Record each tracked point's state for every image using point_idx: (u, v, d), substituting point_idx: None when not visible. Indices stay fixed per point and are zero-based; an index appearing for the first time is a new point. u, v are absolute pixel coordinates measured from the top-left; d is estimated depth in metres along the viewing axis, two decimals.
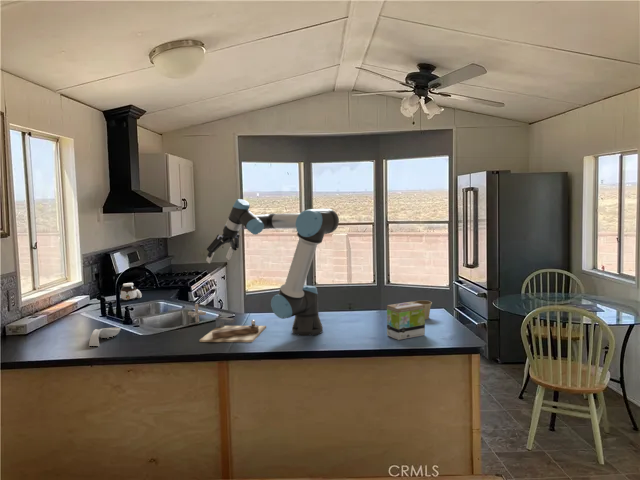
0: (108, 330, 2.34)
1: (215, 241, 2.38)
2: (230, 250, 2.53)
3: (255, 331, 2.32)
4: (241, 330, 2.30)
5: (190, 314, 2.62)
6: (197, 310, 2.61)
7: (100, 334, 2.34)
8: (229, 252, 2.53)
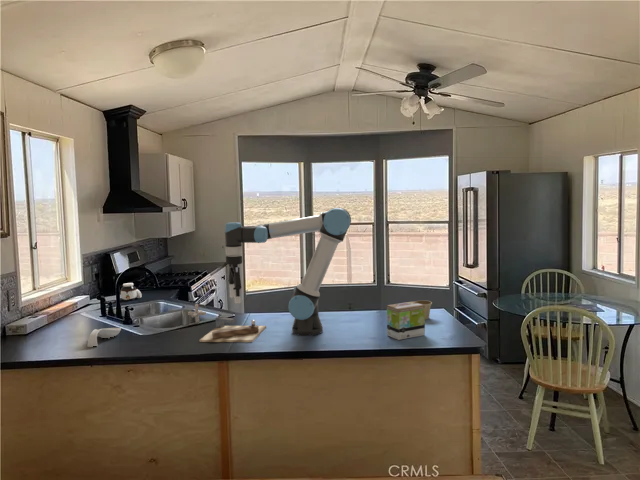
0: (107, 330, 2.33)
1: (237, 275, 2.15)
2: (232, 286, 2.29)
3: (255, 331, 2.32)
4: (241, 330, 2.30)
5: (190, 314, 2.62)
6: (197, 310, 2.61)
7: (100, 334, 2.34)
8: (232, 289, 2.29)
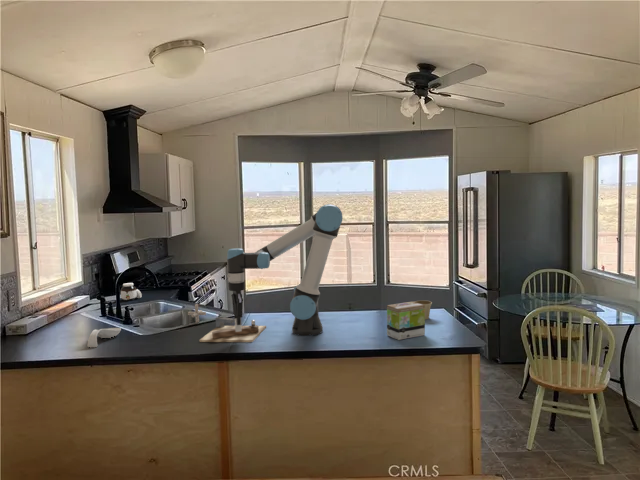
0: (107, 331, 2.33)
1: (239, 305, 2.17)
2: None
3: (255, 331, 2.32)
4: None
5: (190, 314, 2.62)
6: (197, 310, 2.61)
7: (100, 334, 2.34)
8: None
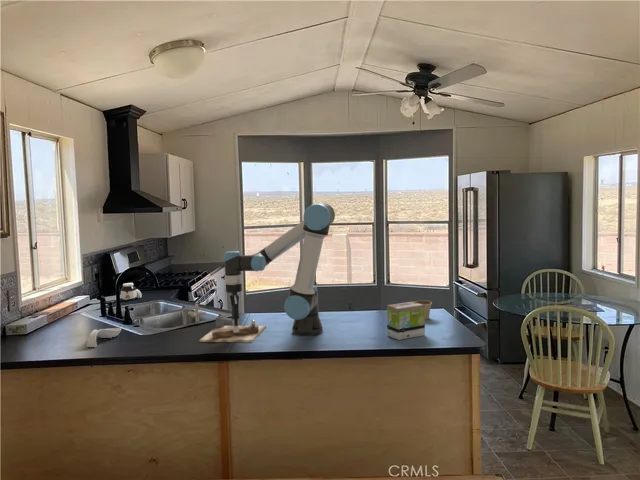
0: (107, 331, 2.33)
1: (235, 307, 2.22)
2: None
3: (255, 331, 2.32)
4: (241, 330, 2.30)
5: (190, 314, 2.62)
6: (197, 310, 2.61)
7: (100, 334, 2.34)
8: None
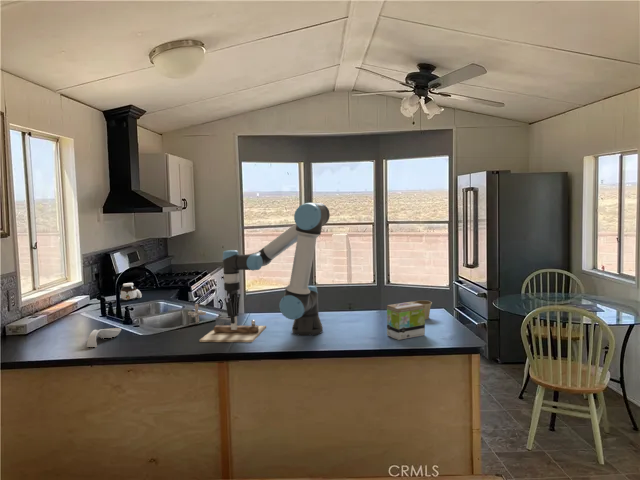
0: (107, 331, 2.32)
1: (228, 305, 2.27)
2: None
3: (252, 331, 2.31)
4: (239, 328, 2.33)
5: (190, 314, 2.62)
6: (197, 310, 2.61)
7: (100, 335, 2.33)
8: None
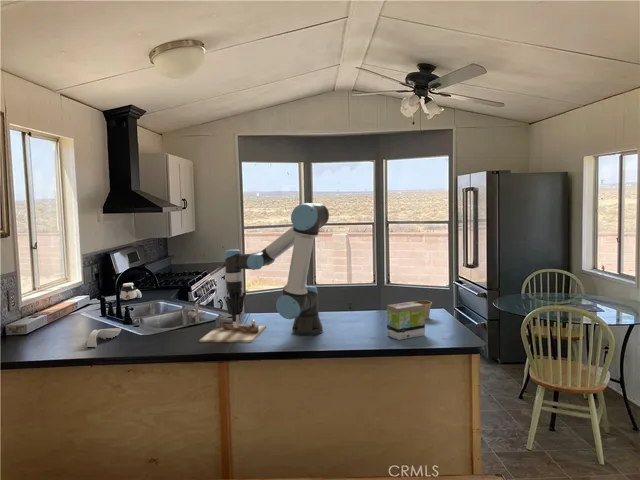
0: (107, 331, 2.32)
1: (227, 303, 2.32)
2: None
3: (250, 331, 2.32)
4: (241, 327, 2.36)
5: (190, 314, 2.62)
6: (197, 310, 2.61)
7: (100, 335, 2.33)
8: None
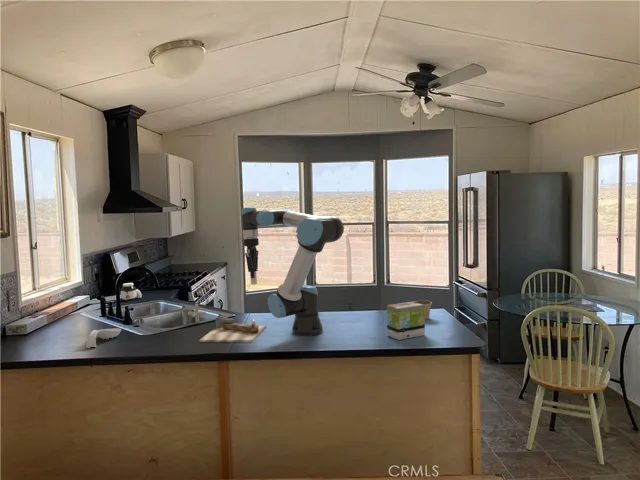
0: (107, 331, 2.32)
1: (248, 259, 2.35)
2: None
3: (250, 331, 2.32)
4: (241, 327, 2.36)
5: (190, 314, 2.62)
6: (197, 310, 2.61)
7: (100, 335, 2.33)
8: None
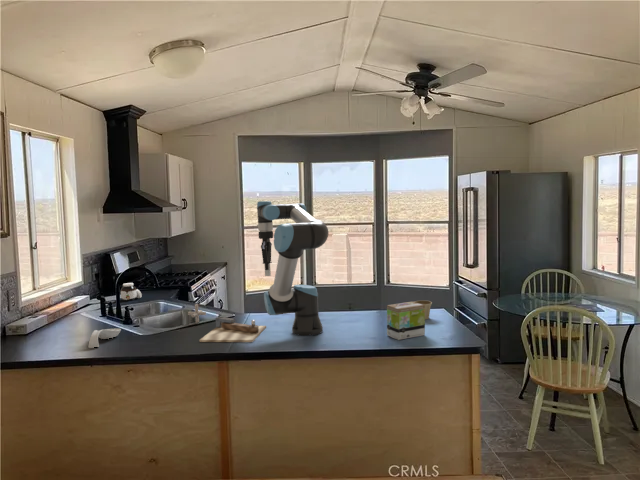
0: (108, 331, 2.32)
1: (264, 252, 2.42)
2: None
3: (250, 331, 2.32)
4: (241, 327, 2.36)
5: (190, 314, 2.62)
6: (197, 310, 2.61)
7: (100, 335, 2.32)
8: None
